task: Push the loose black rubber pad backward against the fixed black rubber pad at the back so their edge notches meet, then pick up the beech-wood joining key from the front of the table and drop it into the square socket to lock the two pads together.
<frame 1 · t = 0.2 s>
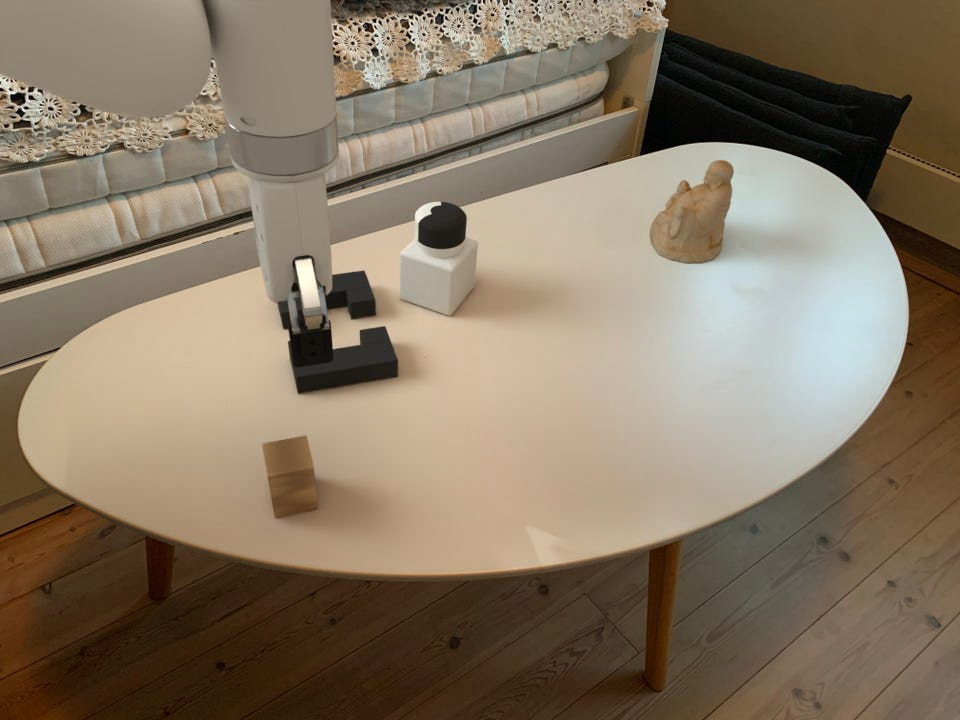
hand: (303, 324, 66), 17 cm above the table, tool pointing down, fingers open, 9 cm apart
joining key: (293, 496, 73), on the table
statue: (684, 240, 111), on the table
pad back: (325, 307, 94), on the table
medicine bottle: (437, 294, 98), on the table
pad front: (343, 367, 87), on the table
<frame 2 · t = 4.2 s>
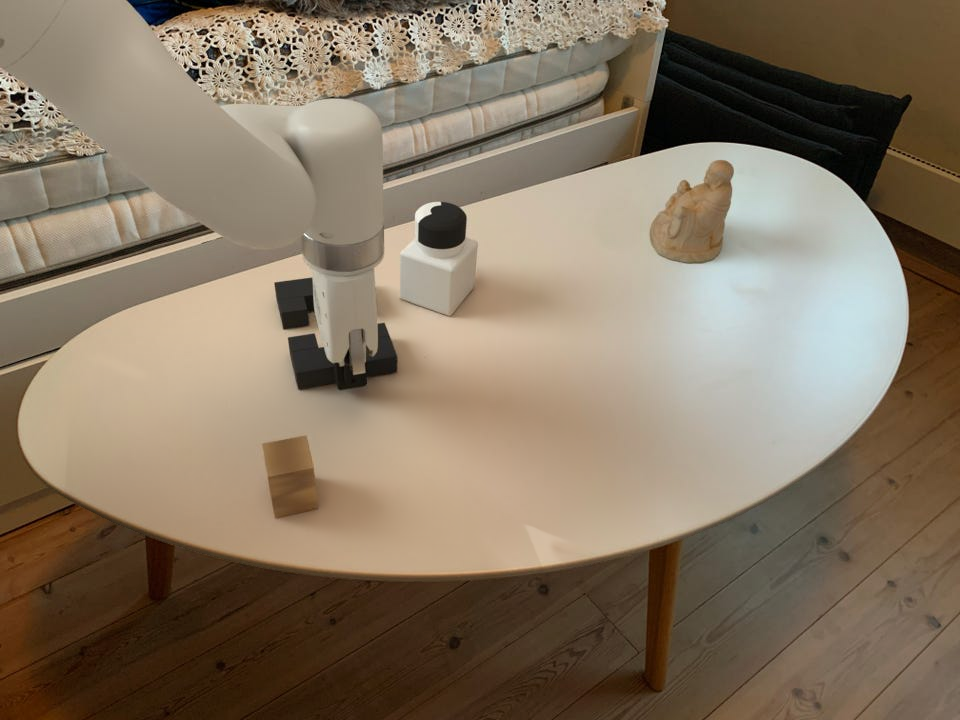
hand: (351, 382, 83), 1 cm above the table, tool pointing down, fingers closed
pad front: (343, 363, 87), on the table, touching gripper
everything else where it was.
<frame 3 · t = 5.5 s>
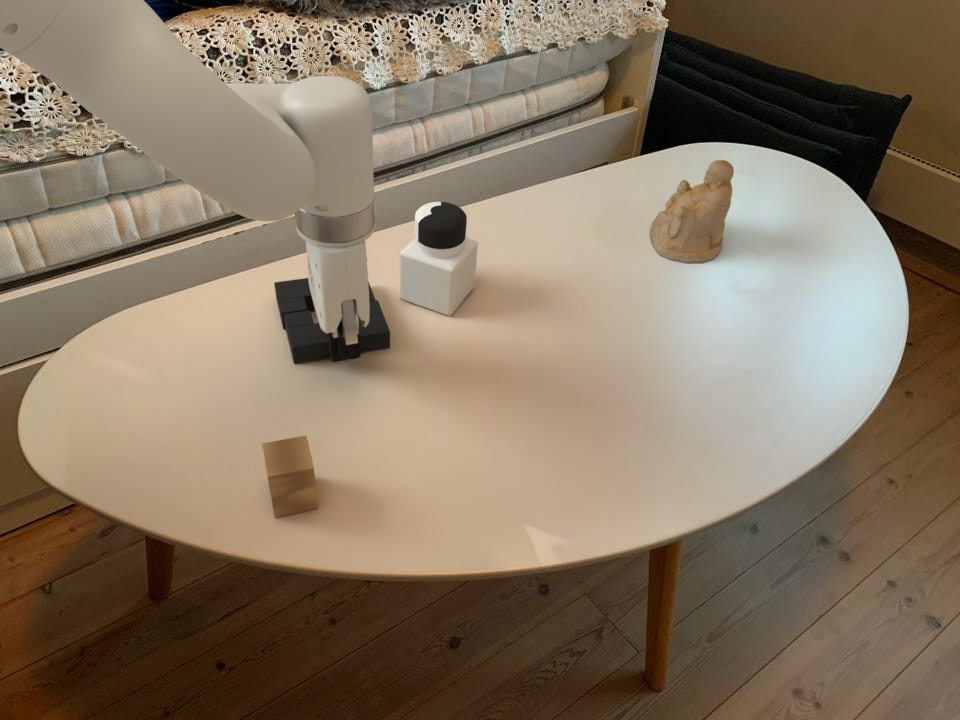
hand: (345, 355, 86), 1 cm above the table, tool pointing down, fingers closed
pad front: (337, 339, 90), on the table, touching gripper
everything else where it was.
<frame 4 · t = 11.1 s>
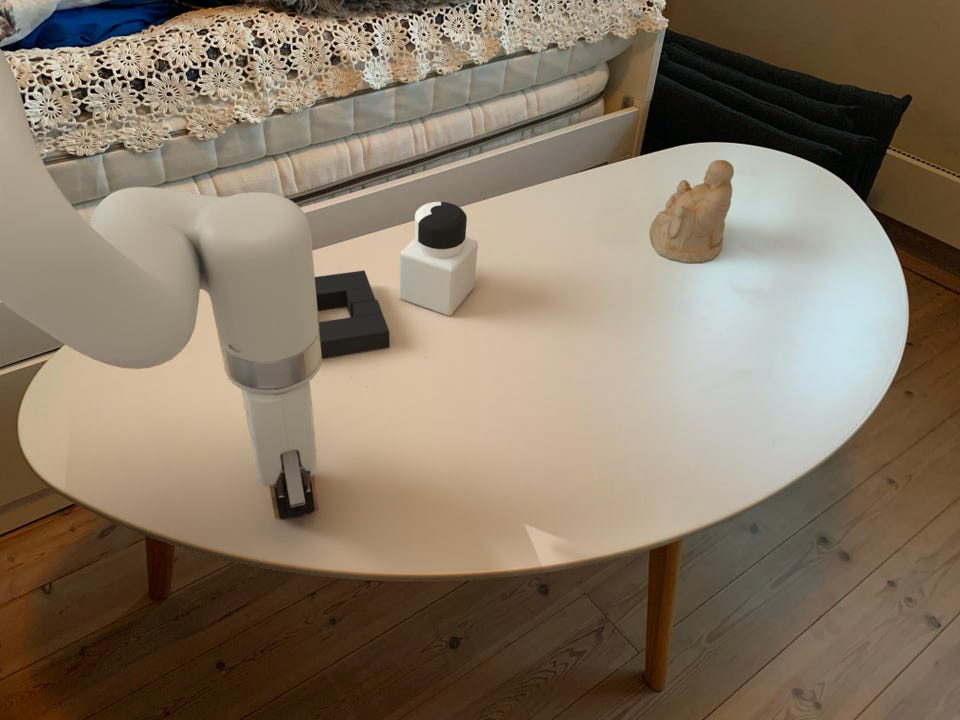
hand: (292, 492, 73), 1 cm above the table, tool pointing down, fingers closed on joining key, 4 cm apart
joining key: (293, 496, 73), on the table, touching gripper
pad front: (337, 338, 90), on the table
everything else where it was.
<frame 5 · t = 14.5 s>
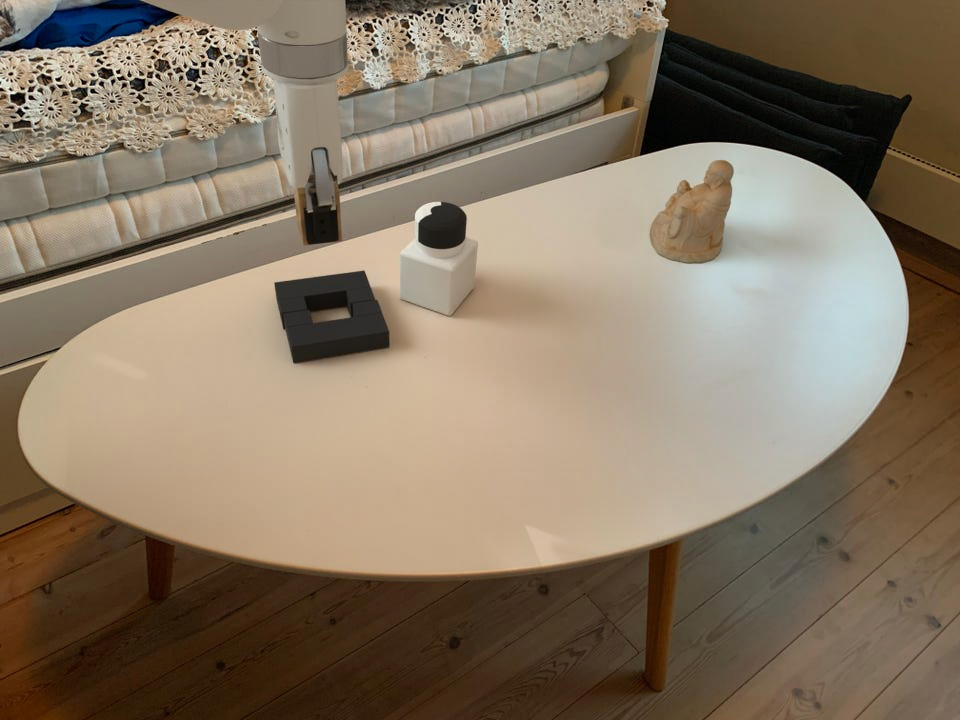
hand: (318, 227, 80), 15 cm above the table, tool pointing down, fingers closed on joining key, 4 cm apart
joining key: (319, 233, 81), point 14 cm above the table, touching gripper
everything else where it was.
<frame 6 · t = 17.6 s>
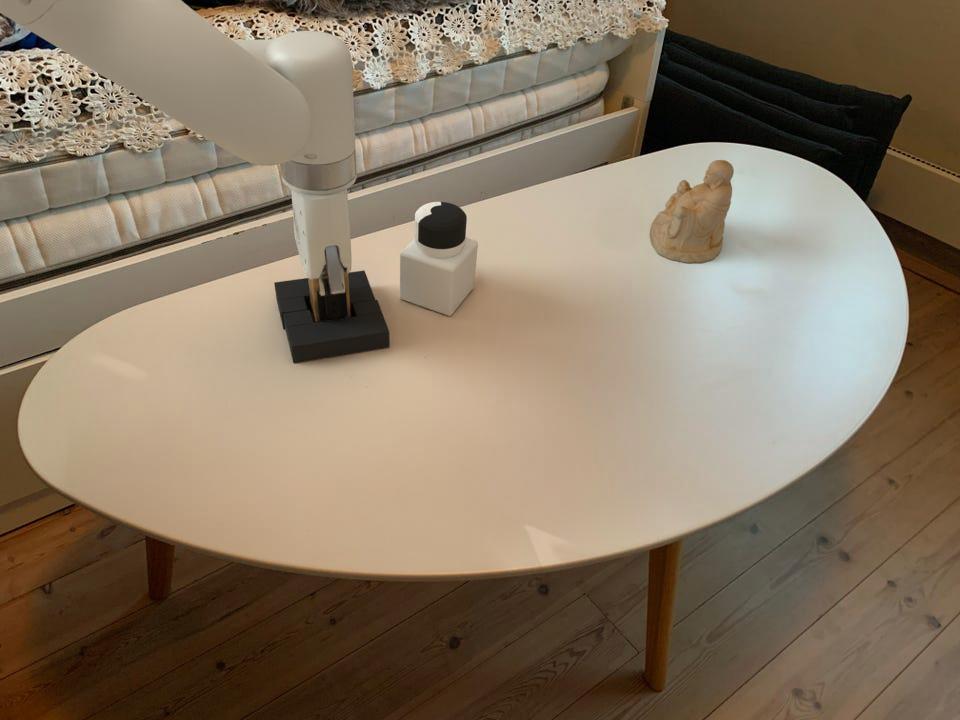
hand: (329, 304, 91), 3 cm above the table, tool pointing down, fingers closed on joining key, 4 cm apart
joining key: (330, 309, 91), point 2 cm above the table, touching gripper
pad front: (337, 338, 90), on the table, touching gripper
everything else where it was.
when the fingers open (4 cm above the table, at t = 23.2 s): joining key drops 3 cm, on the table.
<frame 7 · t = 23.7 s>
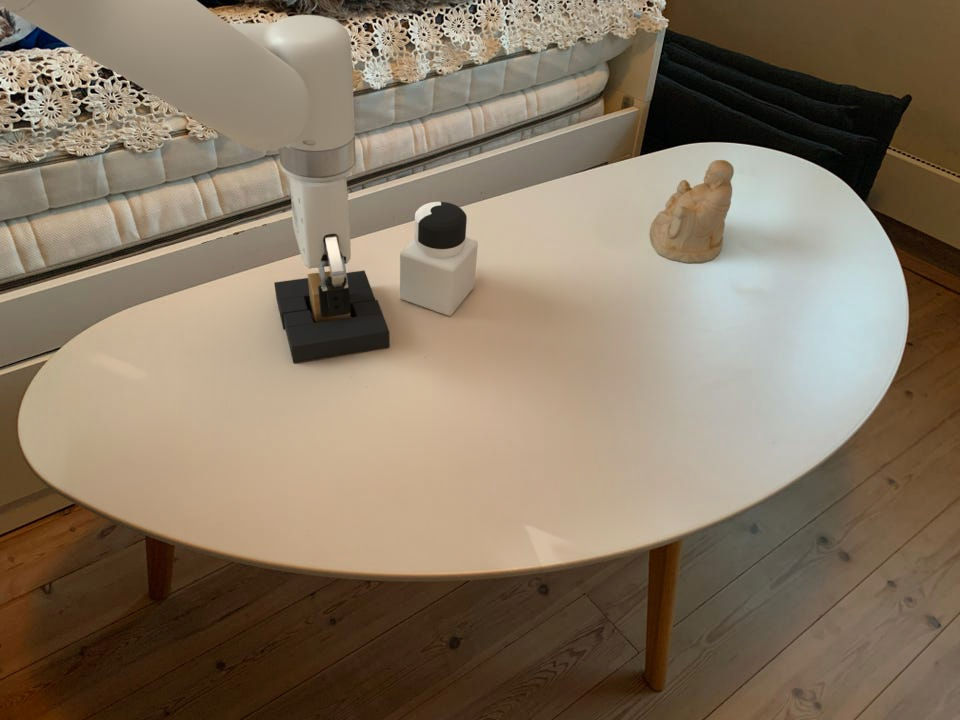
hand: (327, 288, 89), 5 cm above the table, tool pointing down, fingers open, 8 cm apart
joining key: (331, 322, 92), on the table
pad front: (337, 338, 90), on the table
everything else where it was.
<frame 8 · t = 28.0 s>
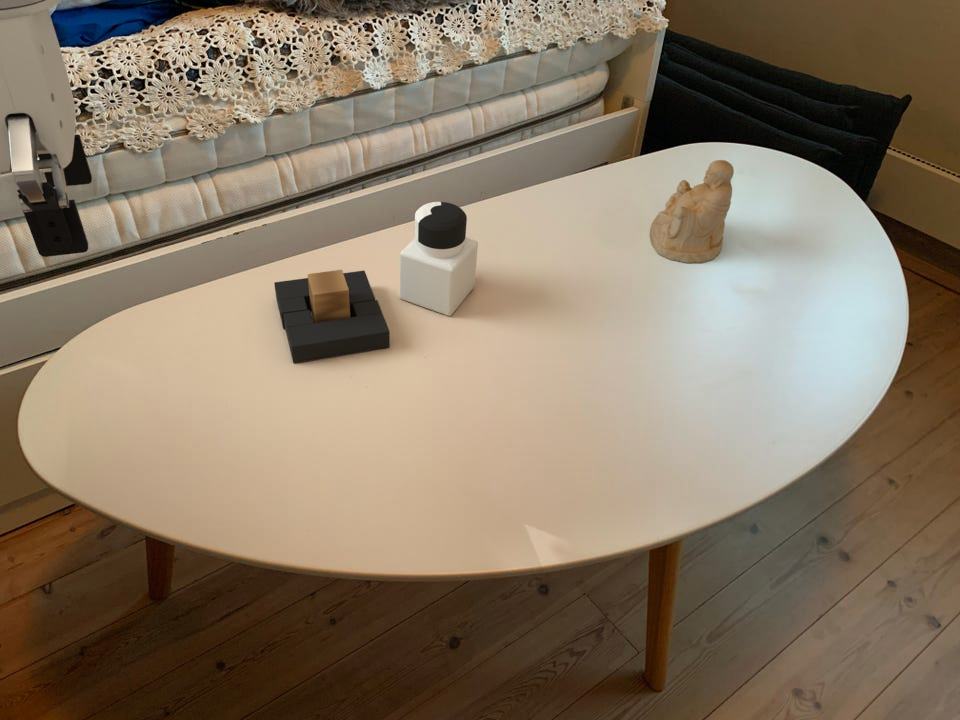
hand: (68, 216, 59), 26 cm above the table, tool pointing down, fingers open, 9 cm apart
nothing on the table moved.
at the end: pad front 0.4 cm from the target spot on the table beside the pad back, on the table; joining key 0.1 cm from the target spot on the pad back, point 0.0 cm above the pad back's base; joining key tilted 0° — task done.
